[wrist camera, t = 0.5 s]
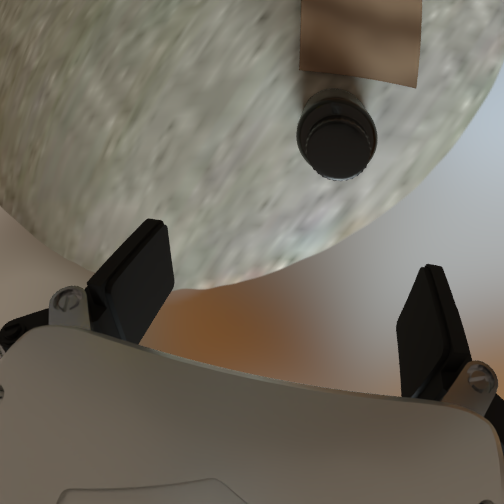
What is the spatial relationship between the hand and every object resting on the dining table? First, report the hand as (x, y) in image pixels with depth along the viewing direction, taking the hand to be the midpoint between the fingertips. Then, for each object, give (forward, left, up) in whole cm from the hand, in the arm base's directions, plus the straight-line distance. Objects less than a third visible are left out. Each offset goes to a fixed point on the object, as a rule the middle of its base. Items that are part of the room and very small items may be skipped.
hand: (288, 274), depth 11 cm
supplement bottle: (-1, +2, -26) cm, 26 cm away
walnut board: (-13, +4, -26) cm, 29 cm away
